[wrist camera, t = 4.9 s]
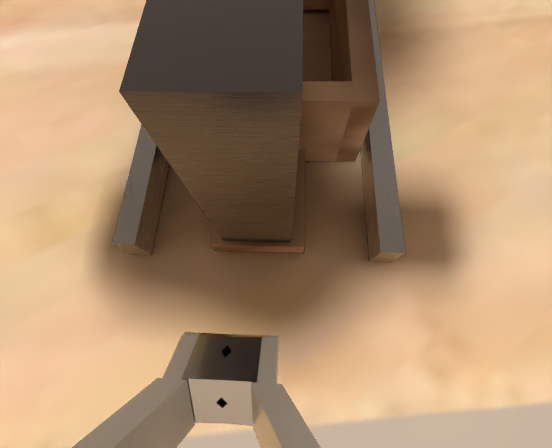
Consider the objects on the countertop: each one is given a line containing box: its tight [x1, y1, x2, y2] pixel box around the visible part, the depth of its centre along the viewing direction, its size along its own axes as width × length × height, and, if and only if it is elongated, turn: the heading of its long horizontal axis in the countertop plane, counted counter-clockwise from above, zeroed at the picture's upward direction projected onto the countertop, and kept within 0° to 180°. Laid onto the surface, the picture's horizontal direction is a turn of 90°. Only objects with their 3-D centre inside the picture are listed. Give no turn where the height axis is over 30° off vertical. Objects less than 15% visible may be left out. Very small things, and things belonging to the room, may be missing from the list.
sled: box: [119, 0, 380, 253], centre depth 14 cm, size 11×21×11 cm, turn 178°
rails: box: [112, 0, 405, 262], centre depth 20 cm, size 15×30×2 cm, turn 178°
